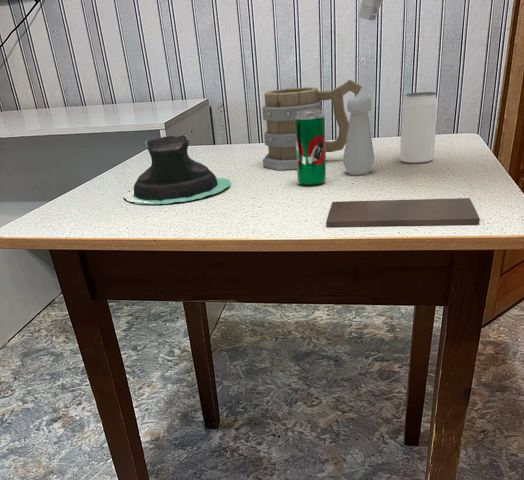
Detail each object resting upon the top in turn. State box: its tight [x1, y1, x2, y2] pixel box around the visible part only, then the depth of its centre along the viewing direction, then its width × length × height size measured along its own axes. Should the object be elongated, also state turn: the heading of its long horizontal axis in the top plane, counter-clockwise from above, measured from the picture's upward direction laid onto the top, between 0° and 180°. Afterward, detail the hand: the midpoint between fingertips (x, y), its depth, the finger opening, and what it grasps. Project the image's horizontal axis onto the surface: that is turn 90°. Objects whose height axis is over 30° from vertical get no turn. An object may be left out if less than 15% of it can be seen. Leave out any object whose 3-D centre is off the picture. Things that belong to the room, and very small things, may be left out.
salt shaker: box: [342, 96, 375, 176], centre depth 98 cm, size 6×6×13 cm
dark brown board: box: [325, 197, 481, 228], centre depth 76 cm, size 20×10×1 cm, turn 79°
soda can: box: [295, 109, 327, 187], centre depth 94 cm, size 5×5×12 cm
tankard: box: [262, 79, 363, 171], centre depth 109 cm, size 20×13×15 cm, turn 80°
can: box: [399, 91, 439, 164], centre depth 103 cm, size 6×6×12 cm
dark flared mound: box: [132, 134, 231, 205], centre depth 98 cm, size 15×19×20 cm
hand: (366, 19), depth 91 cm, fingers open, 8 cm apart
